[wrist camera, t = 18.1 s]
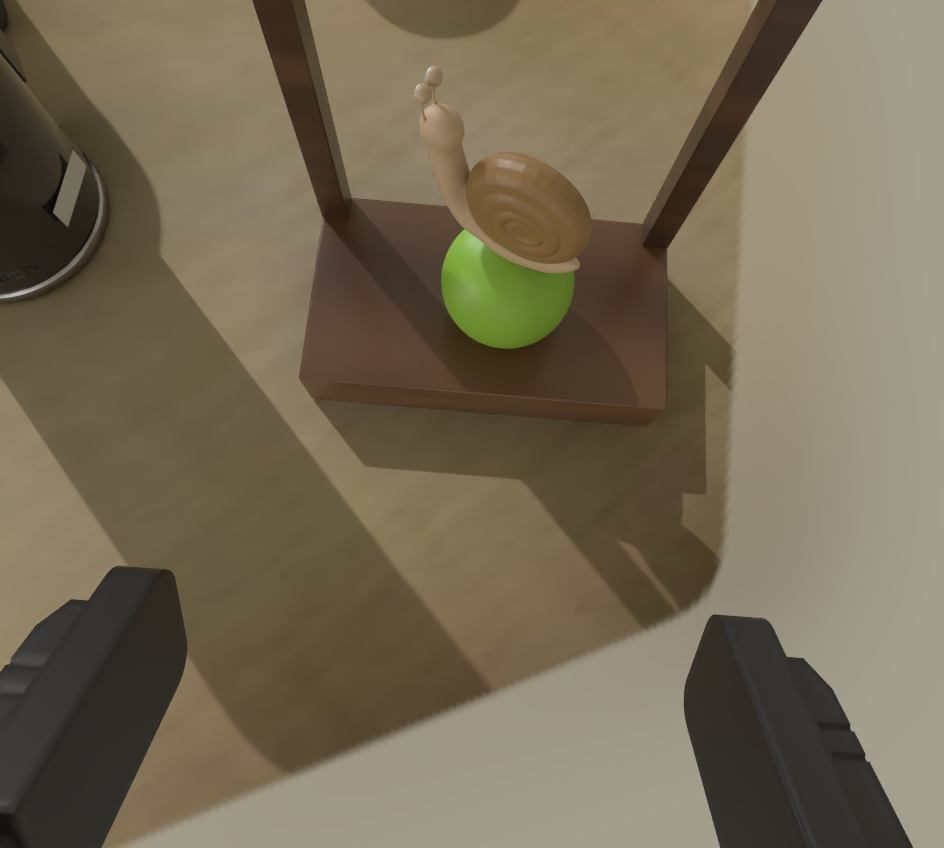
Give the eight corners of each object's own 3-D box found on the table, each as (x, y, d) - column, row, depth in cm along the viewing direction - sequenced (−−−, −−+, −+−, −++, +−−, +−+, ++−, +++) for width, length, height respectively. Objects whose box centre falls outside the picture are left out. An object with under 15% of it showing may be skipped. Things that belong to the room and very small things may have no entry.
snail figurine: (458, 225, 31) (464, 5, 20) (583, 287, 31) (664, 98, 19) (400, 321, 30) (370, 146, 19) (529, 388, 30) (581, 250, 18)
